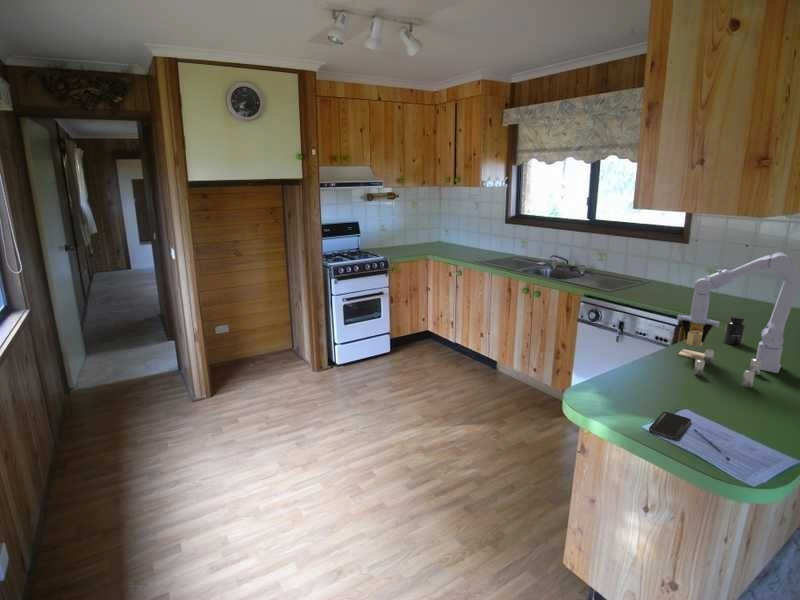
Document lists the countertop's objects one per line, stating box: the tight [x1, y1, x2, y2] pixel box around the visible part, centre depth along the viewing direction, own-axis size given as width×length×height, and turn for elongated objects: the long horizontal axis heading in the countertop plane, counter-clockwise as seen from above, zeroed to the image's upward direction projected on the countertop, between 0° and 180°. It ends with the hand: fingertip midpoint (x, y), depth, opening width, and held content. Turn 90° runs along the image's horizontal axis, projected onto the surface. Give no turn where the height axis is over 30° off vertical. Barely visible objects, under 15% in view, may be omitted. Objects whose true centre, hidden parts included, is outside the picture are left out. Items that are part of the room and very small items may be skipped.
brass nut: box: [685, 330, 703, 347], centre depth 193 cm, size 6×5×5 cm
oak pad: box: [677, 348, 705, 360], centre depth 195 cm, size 7×9×1 cm
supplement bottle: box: [723, 315, 746, 346], centre depth 208 cm, size 7×7×12 cm
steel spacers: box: [692, 348, 762, 389], centre depth 176 cm, size 18×18×6 cm
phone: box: [648, 411, 692, 441], centre depth 140 cm, size 8×1×15 cm
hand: (694, 340), depth 193 cm, fingers closed on brass nut, 5 cm apart
